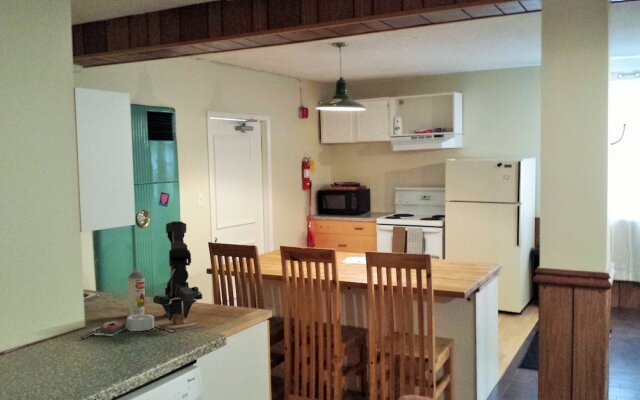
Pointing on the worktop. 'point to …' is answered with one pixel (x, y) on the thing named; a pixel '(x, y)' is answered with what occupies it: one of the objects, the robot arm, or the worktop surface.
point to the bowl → (140, 322)
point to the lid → (178, 323)
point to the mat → (181, 329)
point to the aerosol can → (136, 293)
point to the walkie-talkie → (108, 328)
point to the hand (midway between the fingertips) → (178, 319)
